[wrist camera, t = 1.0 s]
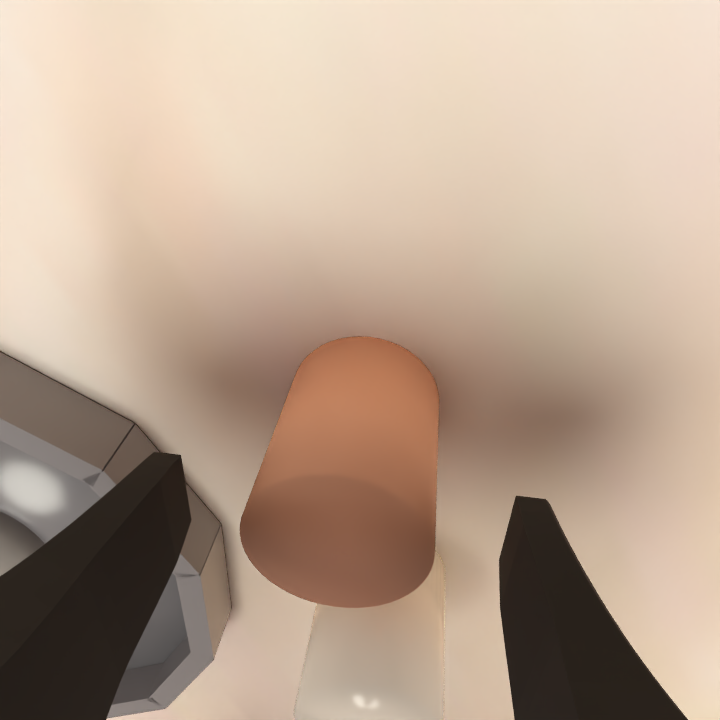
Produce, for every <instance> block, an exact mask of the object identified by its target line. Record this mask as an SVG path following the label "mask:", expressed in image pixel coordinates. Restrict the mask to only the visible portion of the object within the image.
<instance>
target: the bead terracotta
mask: <svg viewBox="0 0 720 720" xmlns="http://www.w3.org/2000/svg"><path fill="white" fill-rule="evenodd" d="M438 422H439V394H438V389H437V385H436V383H435V380H434V378H433V376H432V374H431V373H430V371H429V370H428V368H427V367H426V366H425V365H424V364H423V362H422V361H421V360H419V359H418V358H417V357H416V356H415V355H414V354H412V353H411V352H409V351H408V350H406V349H405V348H403V347H401V346H399V345H397V344H394V343H392V342H389V341H386V340H382V339H379V338H372V337H360V336H358V337H346V338H341V339H337V340H334V341H331V342H328V343H326V344H324V345H322V346H320V347H319V348H317V349H315V350H314V351H313V352H312V353H310V354H309V355H308V356H307V357H306V358H305V359H304V361H303V362H302V363H301V365H300V366H299V368H298V370H297V372H296V375H295V377H294V380H293V383H292V385H291V388H290V391H289V393H288V396H287V398H286V401H285V404H284V406H283V409H282V412H281V414H280V417H279V420H278V422H277V425H276V428H275V430H274V433H273V435H272V438H271V441H270V443H269V446H268V449H267V451H266V454H265V457H264V459H263V462H262V465H261V467H260V470H259V473H258V475H257V478H256V480H255V483H254V486H253V488H252V491H251V494H250V496H249V499H248V502H247V504H246V507H245V510H244V512H243V515H242V517H241V523H240V537H241V542H242V545H243V548H244V551H245V553H246V554H247V556H248V558H249V560H250V561H251V562H252V564H253V565H254V566H255V568H256V569H257V570H258V571H259V572H260V573H261V574H262V575H263V576H265V577H266V578H267V579H268V580H269V581H271V582H272V583H274V584H275V585H277V586H278V587H280V588H281V589H283V590H285V591H287V592H289V593H291V594H293V595H295V596H297V597H300V598H302V599H305V600H308V601H311V602H315V603H319V604H322V605H328V606H334V607H343V608H364V607H373V606H379V605H383V604H387V603H391V602H393V601H396V600H398V599H401V598H403V597H405V596H406V595H408V594H410V593H411V592H413V591H414V590H416V589H417V588H418V587H419V586H420V585H421V584H422V583H423V582H424V581H425V579H426V578H427V577H428V575H429V573H430V571H431V569H432V566H433V563H434V557H435V529H436V493H437V458H438Z"/></svg>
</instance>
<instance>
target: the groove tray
mask: <svg viewBox="0 0 720 720" xmlns="http://www.w3.org/2000/svg"><path fill="white" fill-rule="evenodd" d="M153 452H159V451H158V450H157V449H156V447H155V446H154V445H153V444H152V443H151V442H150V440H149V439H148V438H147V437H146V436H145V434H144V433H143V432H142V431H141V430H140V429H139V427H138V426H137V425H136V424H135V425H134V423H133V422H131V421H129V420H128V419H126V418H124V417H122V416H120V415H118V414H116V413H114V412H112V411H111V410H109V409H107V408H105V407H103V406H101V405H99V404H97V403H95V402H94V401H92V400H90V399H88V398H86V397H84V396H82V395H80V394H78V393H77V392H75V391H73V390H71V389H69V388H67V387H65V386H63V385H62V384H60V383H58V382H56V381H54V380H52V379H50V378H48V377H46V376H45V375H43V374H41V373H39V372H37V371H35V370H33V369H31V368H29V367H28V366H26V365H24V364H22V363H20V362H18V361H16V360H14V359H13V358H11V357H9V356H7V355H5V354H3V353H1V352H0V576H1V575H3V574H4V573H6V572H7V571H9V570H10V569H11V568H13V567H14V566H16V565H17V564H19V563H20V562H21V561H23V560H24V559H25V558H27V557H28V556H30V555H31V554H32V553H34V552H35V551H36V550H38V549H39V548H40V547H41V546H43V545H44V544H45V543H47V542H48V541H49V540H50V539H52V538H53V537H54V536H56V535H57V534H58V533H59V532H61V531H62V530H63V529H65V528H66V527H67V526H68V525H70V524H71V523H72V522H73V521H75V520H76V519H77V518H78V517H79V516H80V515H82V514H83V513H84V512H85V511H86V510H88V509H89V508H90V507H91V506H92V505H93V504H95V503H96V502H97V501H98V500H99V499H101V498H102V497H103V496H104V495H105V494H106V493H107V492H109V491H110V490H111V489H112V488H113V487H114V486H115V485H117V484H118V483H119V482H120V481H121V480H122V479H123V478H124V477H126V476H127V475H128V474H129V473H130V472H131V471H132V470H133V469H135V468H136V467H137V466H138V465H139V464H140V463H141V462H143V461H144V460H145V459H146V458H147V457H148V456H150V455H151V454H152V453H153ZM159 453H160V452H159ZM185 483H186V482H185ZM186 489H187V495H188V501H189V507H190V513H191V519H192V520H191V523H190V526H189V529H188V532H187V535H186V538H185V541H184V544H183V547H182V550H181V553H180V556H179V558H178V561H177V564H176V566H175V568H174V570H173V572H172V574H171V577H170V579H169V581H168V583H167V585H166V587H165V589H164V591H163V593H162V595H161V597H160V599H159V601H158V604H157V606H156V608H155V610H154V612H153V614H152V616H151V618H150V620H149V622H148V624H147V626H146V628H145V630H144V632H143V634H142V636H141V638H140V640H139V642H138V644H137V646H136V648H135V651H134V653H133V655H132V657H131V659H130V661H129V663H128V665H127V668H126V670H125V672H124V675H123V677H122V679H121V681H120V684H119V687H118V689H117V692H116V695H115V697H114V700H113V703H112V705H111V708H110V711H109V713H108V716H107V718H112V717H118V716H125V715H131V714H137V713H143V712H149V711H155V710H161V709H165V708H167V707H168V706H169V705H170V704H171V703H172V702H173V701H174V700H175V699H176V698H177V697H178V696H179V695H180V694H181V693H182V691H183V690H184V689H185V688H186V687H187V686H188V685H189V684H190V683H191V682H192V681H193V680H194V679H195V678H196V677H197V676H198V675H199V674H200V673H201V672H202V671H203V670H204V669H205V668H206V667H207V666H208V665H209V664H210V663H211V662H212V661H213V660H214V657H215V655H216V652H217V649H218V646H219V643H220V640H221V637H222V634H223V631H224V628H225V625H226V622H227V619H228V616H229V613H230V611H231V600H230V592H229V584H228V576H227V568H226V559H225V551H224V543H223V535H222V527H221V525H220V524H221V523H220V522H219V521H218V520H217V519H216V518H215V516H214V515H213V514H212V513H211V512H210V511H209V509H208V508H207V507H206V506H205V505H204V504H203V502H202V501H201V500H200V499H199V498H198V496H197V495H196V494H195V493H194V492H193V491H192V489H191V488H190V487H189V486H188V485H187V484H186Z"/></svg>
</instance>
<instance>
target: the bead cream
mask: <svg viewBox="0 0 720 720" xmlns="http://www.w3.org/2000/svg"><path fill="white" fill-rule="evenodd" d="M444 649H445V567H444V564H443V561H442V559H441V558H440V556H439V555H438V553H437V552H436V551H435V557H434V563H433V566H432V569H431V571H430V573H429V575H428V577H427V578H426V579H425V581H424V582H423V583H422V584H421V585H420V586H419V587H418V588H417V589H416V590H414V591H413V592H411V593H410V594H408V595H406V596H405V597H403V598H401V599H398V600H396V601H393V602H391V603H387V604H383V605H379V606H373V607H364V608H343V607H334V606H328V605H322V604H319V603H317V604H316V609H315V614H314V618H313V623H312V628H311V633H310V637H309V642H308V647H307V652H306V656H305V661H304V666H303V671H302V675H301V680H300V685H299V689H298V694H297V699H296V704H295V708H294V719H295V720H444Z"/></svg>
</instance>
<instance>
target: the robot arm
mask: <svg viewBox="0 0 720 720" xmlns="http://www.w3.org/2000/svg"><path fill="white" fill-rule="evenodd" d="M191 520H192V519H191V513H190V507H189V501H188V495H187V489H186V483H185V477H184V471H183V465H182V459H181V455H175V454H167V453H159V452H153V453H152V454H151V455H150V456H148V457H147V458H146V459H145V460H144V461H143V462H141V463H140V464H139V465H138V466H137V467H136V468H135V469H133V470H132V471H131V472H130V473H129V474H128V475H127V476H126V477H124V478H123V479H122V480H121V481H120V482H119V483H118V484H117V485H115V486H114V487H113V488H112V489H111V490H110V491H109V492H107V493H106V494H105V495H104V496H103V497H102V498H101V499H99V500H98V501H97V502H96V503H95V504H93V505H92V506H91V507H90V508H89V509H88V510H86V511H85V512H84V513H83V514H82V515H80V516H79V517H78V518H77V519H76V520H75V521H73V522H72V523H71V524H70V525H68V526H67V527H66V528H65V529H63V530H62V531H61V532H59V533H58V534H57V535H56V536H54V537H53V538H52V539H50V540H49V541H48V542H47V543H45V544H44V545H43V546H41V547H40V548H39V549H38V550H36V551H35V552H34V553H32V554H31V555H30V556H28V557H27V558H25V559H24V560H23V561H21V562H20V563H19V564H17V565H16V566H14V567H13V568H11V569H10V570H9V571H7V572H6V573H4V574H3V575H1V576H0V720H106V719H107V716H108V713H109V711H110V708H111V705H112V703H113V700H114V697H115V695H116V692H117V689H118V687H119V684H120V681H121V679H122V677H123V675H124V672H125V670H126V668H127V665H128V663H129V661H130V659H131V657H132V655H133V653H134V651H135V648H136V646H137V644H138V642H139V640H140V638H141V636H142V634H143V632H144V630H145V628H146V626H147V624H148V622H149V620H150V618H151V616H152V614H153V612H154V610H155V608H156V606H157V604H158V601H159V599H160V597H161V595H162V593H163V591H164V589H165V587H166V585H167V583H168V581H169V579H170V577H171V574H172V572H173V570H174V568H175V566H176V564H177V561H178V558H179V556H180V553H181V550H182V547H183V544H184V541H185V538H186V535H187V532H188V529H189V526H190V523H191ZM499 579H500V610H501V618H502V626H503V634H504V642H505V650H506V657H507V665H508V672H509V680H510V687H511V695H512V702H513V710H514V717H515V720H688V719H687V718H686V717H685V715H684V714H683V713H682V712H681V711H680V709H679V708H678V707H677V706H676V704H675V703H674V702H673V701H672V699H671V698H670V697H669V695H668V694H667V693H666V692H665V690H664V689H663V688H662V687H661V685H660V684H659V683H658V681H657V680H656V679H655V677H654V676H653V675H652V673H651V672H650V671H649V669H648V668H647V667H646V665H645V664H644V663H643V661H642V660H641V659H640V657H639V656H638V654H637V653H636V652H635V650H634V649H633V647H632V646H631V644H630V643H629V642H628V640H627V639H626V637H625V636H624V634H623V633H622V631H621V630H620V628H619V627H618V625H617V624H616V622H615V621H614V619H613V618H612V616H611V614H610V613H609V611H608V610H607V608H606V606H605V605H604V603H603V602H602V600H601V598H600V597H599V595H598V593H597V592H596V590H595V588H594V587H593V585H592V583H591V582H590V580H589V578H588V576H587V575H586V573H585V571H584V570H583V568H582V566H581V564H580V562H579V561H578V559H577V557H576V555H575V553H574V551H573V550H572V548H571V546H570V544H569V542H568V540H567V538H566V536H565V534H564V532H563V530H562V528H561V526H560V524H559V522H558V520H557V518H556V516H555V514H554V512H553V510H552V507H551V505H550V504H549V502H548V501H547V500H546V499H539V498H531V497H523V496H516V498H515V502H514V505H513V509H512V513H511V517H510V521H509V524H508V528H507V532H506V536H505V540H504V544H503V547H502V551H501V555H500V559H499Z"/></svg>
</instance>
